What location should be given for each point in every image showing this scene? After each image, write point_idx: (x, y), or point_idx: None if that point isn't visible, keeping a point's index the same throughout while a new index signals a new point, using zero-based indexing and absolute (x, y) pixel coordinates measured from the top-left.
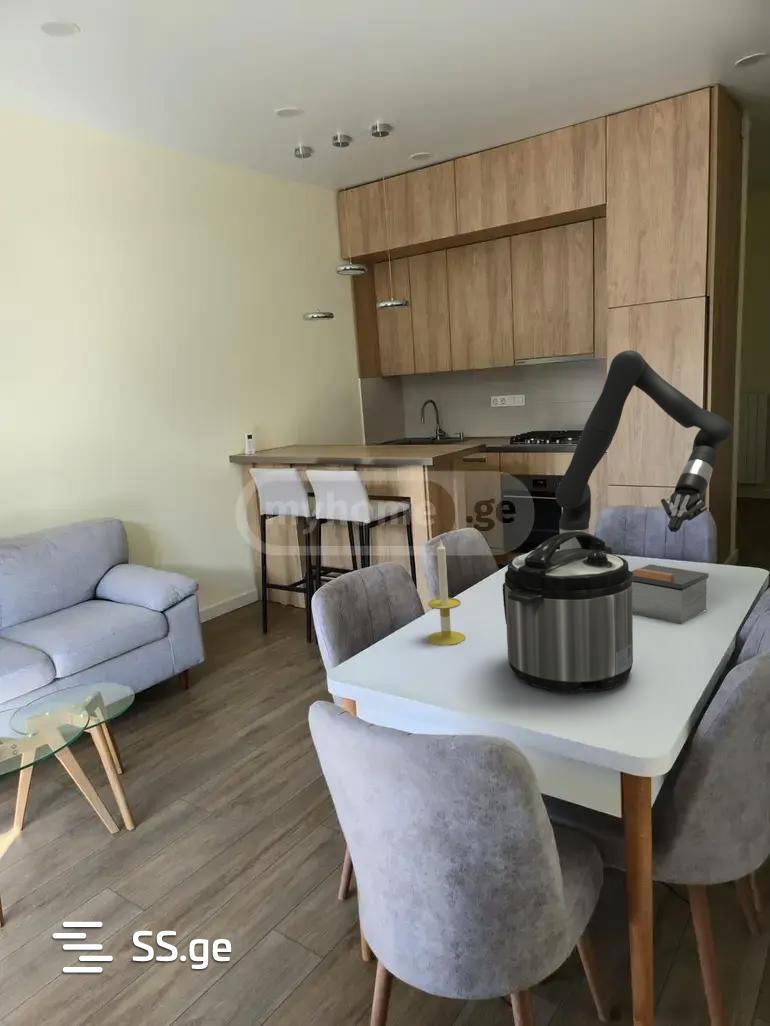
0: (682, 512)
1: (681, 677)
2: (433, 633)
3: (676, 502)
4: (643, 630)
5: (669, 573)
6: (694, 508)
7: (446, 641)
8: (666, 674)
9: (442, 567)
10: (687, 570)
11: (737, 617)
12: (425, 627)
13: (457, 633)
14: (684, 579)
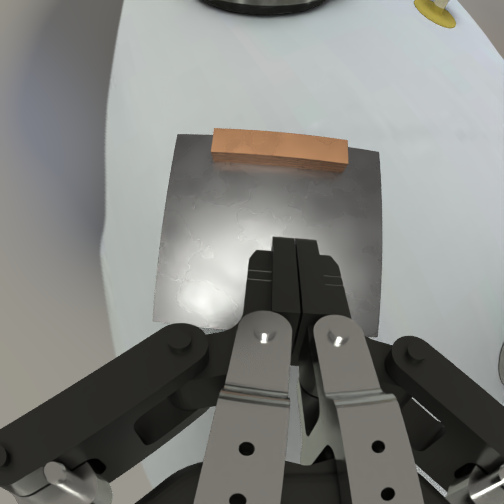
0: (240, 362)
1: (141, 23)
2: (453, 18)
3: (390, 483)
4: (251, 115)
5: (226, 148)
6: (88, 406)
7: (424, 3)
8: (159, 19)
9: None
10: (229, 325)
11: (112, 297)
12: (477, 36)
13: (439, 21)
14: (190, 193)
